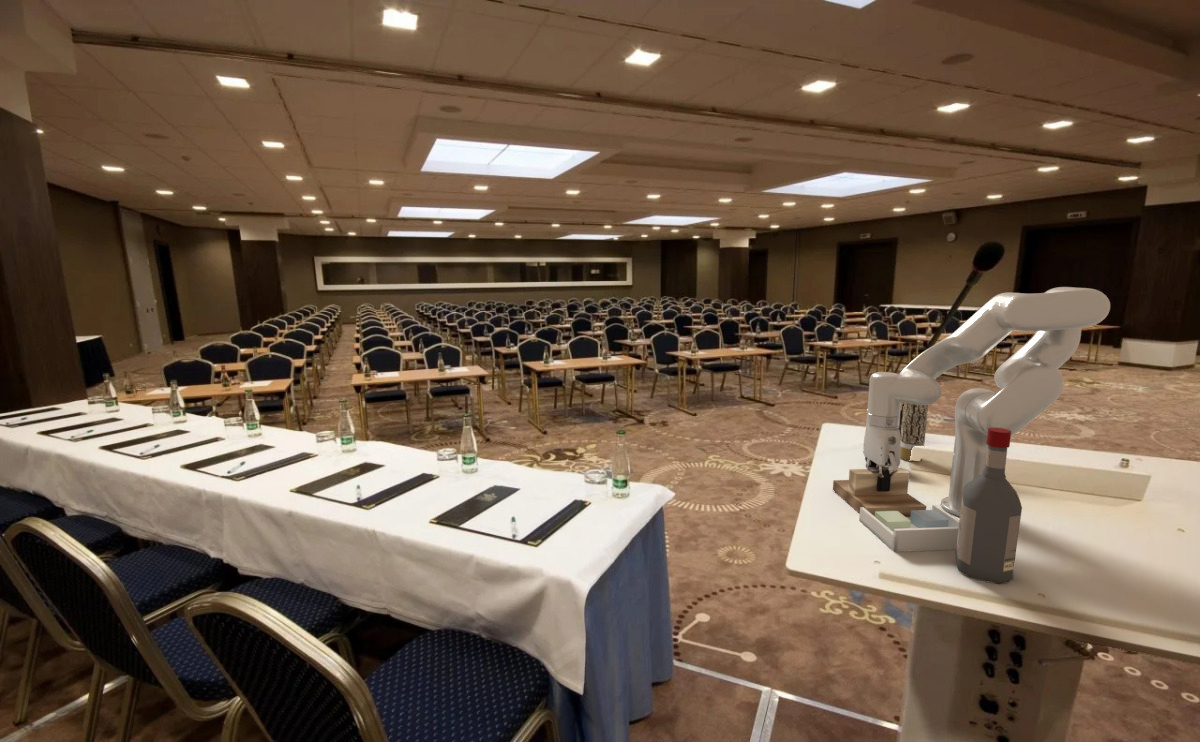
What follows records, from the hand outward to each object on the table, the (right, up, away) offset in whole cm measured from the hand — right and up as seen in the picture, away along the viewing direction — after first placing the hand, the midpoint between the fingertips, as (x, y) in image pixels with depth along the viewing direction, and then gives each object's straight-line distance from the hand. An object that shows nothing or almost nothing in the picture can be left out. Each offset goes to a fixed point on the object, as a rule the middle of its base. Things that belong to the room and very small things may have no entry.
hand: (877, 486), depth 141 cm
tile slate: (+5, -7, -14) cm, 16 cm away
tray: (+1, -8, -16) cm, 18 cm away
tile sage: (-4, -7, -14) cm, 16 cm away
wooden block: (0, -2, 0) cm, 2 cm away
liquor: (+5, -11, -31) cm, 34 cm away
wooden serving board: (0, -5, +1) cm, 5 cm away
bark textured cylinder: (+28, +2, +33) cm, 44 cm away
